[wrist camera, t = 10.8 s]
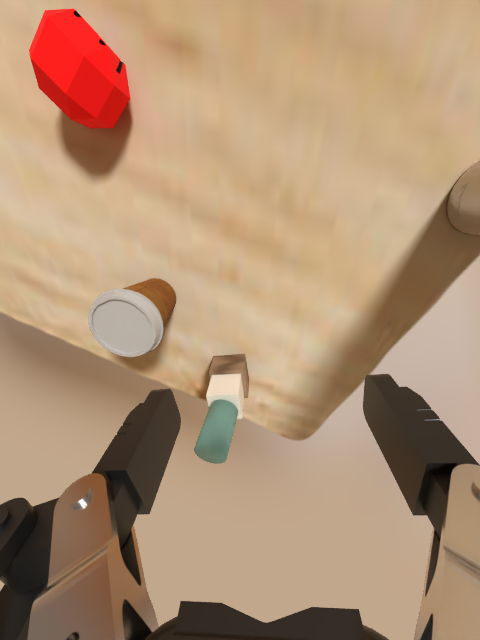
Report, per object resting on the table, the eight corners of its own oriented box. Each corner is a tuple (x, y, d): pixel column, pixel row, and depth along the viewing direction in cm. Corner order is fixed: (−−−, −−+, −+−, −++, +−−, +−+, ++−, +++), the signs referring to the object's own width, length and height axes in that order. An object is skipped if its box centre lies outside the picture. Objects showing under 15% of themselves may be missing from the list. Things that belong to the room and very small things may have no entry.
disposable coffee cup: (163, 331, 44) (132, 372, 33) (120, 295, 42) (71, 327, 31) (197, 297, 41) (174, 329, 30) (151, 256, 38) (109, 275, 28)
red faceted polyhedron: (147, 89, 30) (113, 54, 23) (113, 146, 33) (74, 130, 26) (91, 26, 28) (35, -34, 21) (60, 92, 30) (2, 59, 24)
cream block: (240, 373, 41) (238, 394, 36) (244, 396, 43) (242, 418, 38) (211, 375, 41) (205, 395, 37) (216, 397, 44) (211, 419, 39)
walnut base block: (245, 353, 45) (243, 370, 40) (249, 379, 47) (247, 397, 43) (213, 356, 46) (208, 372, 41) (219, 381, 48) (214, 399, 44)
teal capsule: (223, 395, 36) (208, 439, 30) (244, 412, 37) (233, 458, 31) (205, 405, 38) (187, 448, 32) (224, 421, 39) (211, 466, 33)
